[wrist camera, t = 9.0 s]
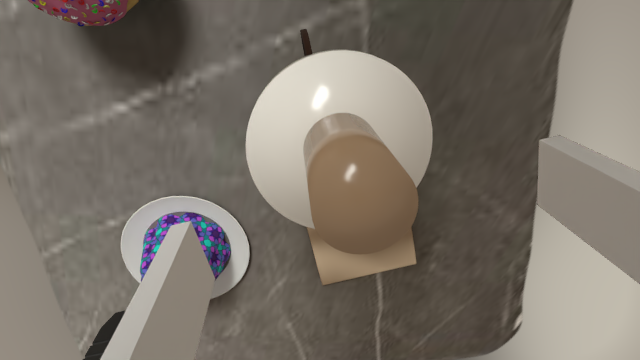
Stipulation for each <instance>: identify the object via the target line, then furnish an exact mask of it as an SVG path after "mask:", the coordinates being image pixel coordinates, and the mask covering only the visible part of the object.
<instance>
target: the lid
mask: <svg viewBox="0 0 640 360" xmlns="http://www.w3.org/2000/svg"><path fill="white" fill-rule="evenodd" d="M432 142H433V134H432V123H431V118H430V114H429V111H428V108H427V105H426V103H425V101H424V99H423V97H422V95H421V93H420V92H419V90H418V89H417V87H416V86H415V84H414V83H413V82H412V81H411V80H410V79H409V78H408V77H407V76H406V75H405V74H404V73H403V72H402V71H400V70H399V69H398V68H397V67H395V66H393V65H392V64H390V63H388V62H387V61H385V60H382V59H380V58H378V57H375V56H373V55H371V54H368V53H364V52H360V51H354V50H346V49H340V50H327V51H321V52H317V53H314V54H311V55H307V56H305V57H303V58H301V59H299V60H296V61H295V62H293V63H291V64H290V65H288V66H287V67H285V68H284V69H283V70H281V71H280V72H279V73H278V74H277V75H276V76H275V77H274V78H273V79H272V80H271V81H270V82H269V83H268V84H267V86H266V87H265V88H264V90H263V91H262V93H261V94H260V96H259V98H258V100H257V102H256V104H255V106H254V108H253V111H252V114H251V117H250V120H249V123H248V129H247V134H246V156H247V162H248V166H249V170H250V173H251V176H252V178H253V181H254V183H255V185H256V186H257V188H258V190H259V192H260V193H261V194H262V196H263V197H264V198H265V200H266V201H267V202H268V203H269V204H270V205H271V206H272V207H273V208H274V209H275V210H277V211H278V212H279V213H280V214H282V215H283V216H285V217H286V218H288V219H290V220H292V221H294V222H296V223H298V224H300V225H303V226H306V227H310V228H313V229H316V231H317V233H318V234H319V236H320V237H321V238H322V239H323V240H324V241H325V242H326V243H327V244H329V245H330V246H331V247H333V248H335V249H337V250H339V251H342V252H345V253H350V254H360V255H361V254H371V253H375V252H379V251H382V250H384V249H386V248H388V247H390V246H392V245H394V244H395V243H396V242H398V241H399V240H400V239H401V238H402V237H403V236H404V235H405V234H406V233H407V232H408V231H409V229H410V228H411V226H412V224H413V222H414V220H415V218H416V215H417V211H418V203H419V202H418V193H417V189H416V188H417V186H418V185H419V183H420V182H421V180H422V178H423V176H424V174H425V172H426V169H427V166H428V164H429V160H430V156H431V151H432Z"/></svg>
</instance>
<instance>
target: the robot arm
mask: <svg viewBox="0 0 640 360" xmlns="http://www.w3.org/2000/svg"><path fill="white" fill-rule="evenodd" d="M537 205H538V206H540V207H541V208H542V209H543V210H545V211H546V212H547V213H549V214H550V215H551V216H553V217H554V218H555V219H556V220H558V221H559V222H560V223H561V224H563V225H564V226H565V227H567V228H568V229H569V230H571V231H572V232H573V233H574V234H576V235H577V236H578V237H580V238H581V239H582V240H584V241H585V242H586V243H587V244H589V245H590V246H591V247H592V248H594V249H595V250H596V251H598V252H599V253H600V254H602V255H603V256H604V257H605V258H607V259H608V260H609V261H611V262H612V263H613V264H614V265H616V266H617V267H618V268H620V269H621V270H622V271H624V272H625V273H626V274H627V275H629V276H630V277H631V278H633V279H634V280H635V281H637V282H638V283H639V284H640V172H639V171H637V170H635V169H632V168H630V167H628V166H626V165H624V164H622V163H619V162H617V161H615V160H613V159H611V158H608V157H606V156H604V155H602V154H600V153H598V152H595V151H593V150H591V149H589V148H586V147H584V146H582V145H580V144H578V143H576V142H574V141H571V140H569V139H567V138H565V137H562V136H560V135H559V136H554V137H550V138H546V139H541V140H539V162H538V193H537ZM214 282H215V277H214V274H213V272H212V270H211V267H210V265H209V263H208V260H207V258H206V255H205V253H204V251H203V248H202V246H201V244H200V241H199V239H198V236H197V234H196V232H195V229H194V227H193V225H192V222H191V221H189V222H184V223H180V224H176V225H172V226H170V228H169V230H168V232H167V234H166V236H165V238H164V240H163V242H162V243H161V245H160V247H159V249H158V251H157V253H156V255H155V257H154V259H153V260H152V262H151V264H150V266H149V268H148V270H147V272H146V274H145V276H144V278H143V279H142V281H141V283H140V285H139V287H138V289H137V291H136V293H135V295H134V296H133V298H132V300H131V302H130V304H129V306H128V308H127V310H126V311H122V312H117V313H115V314H114V315H113V316H112V317H111V318H110V319H109V320H108V321H107V322H106V323H105V324H104V325H103V326H102V327H101V329H100V331H99V332H98V334H97V336H96V338H95V339H94V341H93V346H90V348H89V350H88V351H87V353H86V355H85V359H83V360H194V359H195V355H196V351H197V348H198V344H199V340H200V336H201V332H202V328H203V324H204V321H205V317H206V313H207V309H208V305H209V301H210V297H211V294H212V290H213V286H214Z"/></svg>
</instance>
